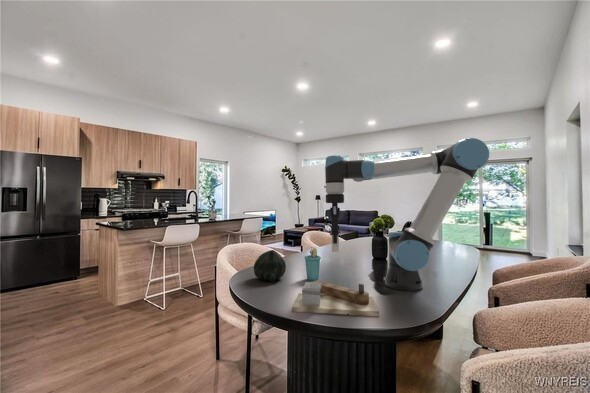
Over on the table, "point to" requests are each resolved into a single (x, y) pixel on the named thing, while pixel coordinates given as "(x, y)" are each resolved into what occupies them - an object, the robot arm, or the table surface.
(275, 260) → the squash
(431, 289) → the table surface
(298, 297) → the pintle board
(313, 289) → the block
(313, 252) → the cup
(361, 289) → the wooden bar with peg
